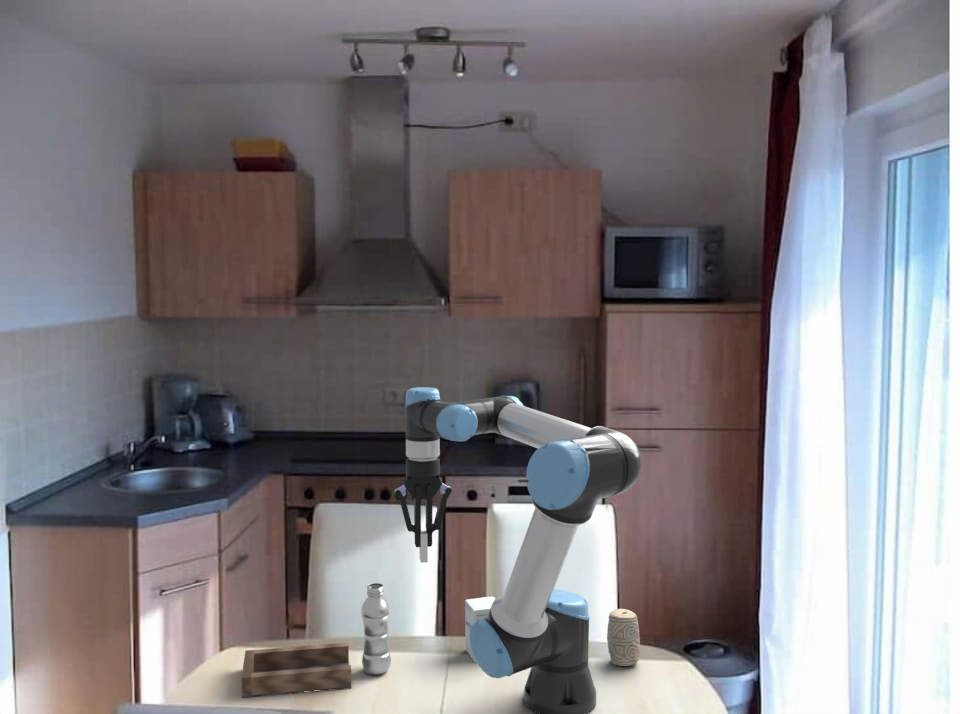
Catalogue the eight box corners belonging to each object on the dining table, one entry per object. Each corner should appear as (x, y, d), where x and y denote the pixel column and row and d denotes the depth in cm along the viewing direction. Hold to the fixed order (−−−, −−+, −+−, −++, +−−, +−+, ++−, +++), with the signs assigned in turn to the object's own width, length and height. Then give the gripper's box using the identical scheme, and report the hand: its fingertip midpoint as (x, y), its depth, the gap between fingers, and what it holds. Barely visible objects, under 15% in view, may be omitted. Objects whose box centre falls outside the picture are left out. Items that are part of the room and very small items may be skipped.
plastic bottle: (393, 665, 214) (392, 581, 212) (387, 679, 207) (386, 591, 205) (365, 664, 215) (364, 580, 212) (359, 677, 208) (357, 590, 206)
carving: (608, 655, 219) (609, 606, 218) (641, 659, 217) (642, 609, 216) (604, 667, 213) (605, 616, 212) (638, 671, 211) (639, 619, 210)
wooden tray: (348, 660, 217) (348, 642, 216) (351, 688, 203) (351, 668, 203) (246, 669, 213) (245, 650, 212) (242, 697, 199) (241, 678, 198)
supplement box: (464, 650, 222) (464, 598, 221) (494, 646, 224) (494, 595, 223) (473, 663, 215) (473, 610, 214) (504, 659, 217) (504, 606, 216)
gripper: (449, 452, 213) (449, 553, 215) (391, 454, 210) (392, 556, 213) (454, 459, 205) (454, 564, 208) (395, 462, 203) (396, 567, 206)
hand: (423, 560), depth 210 cm, fingers closed
